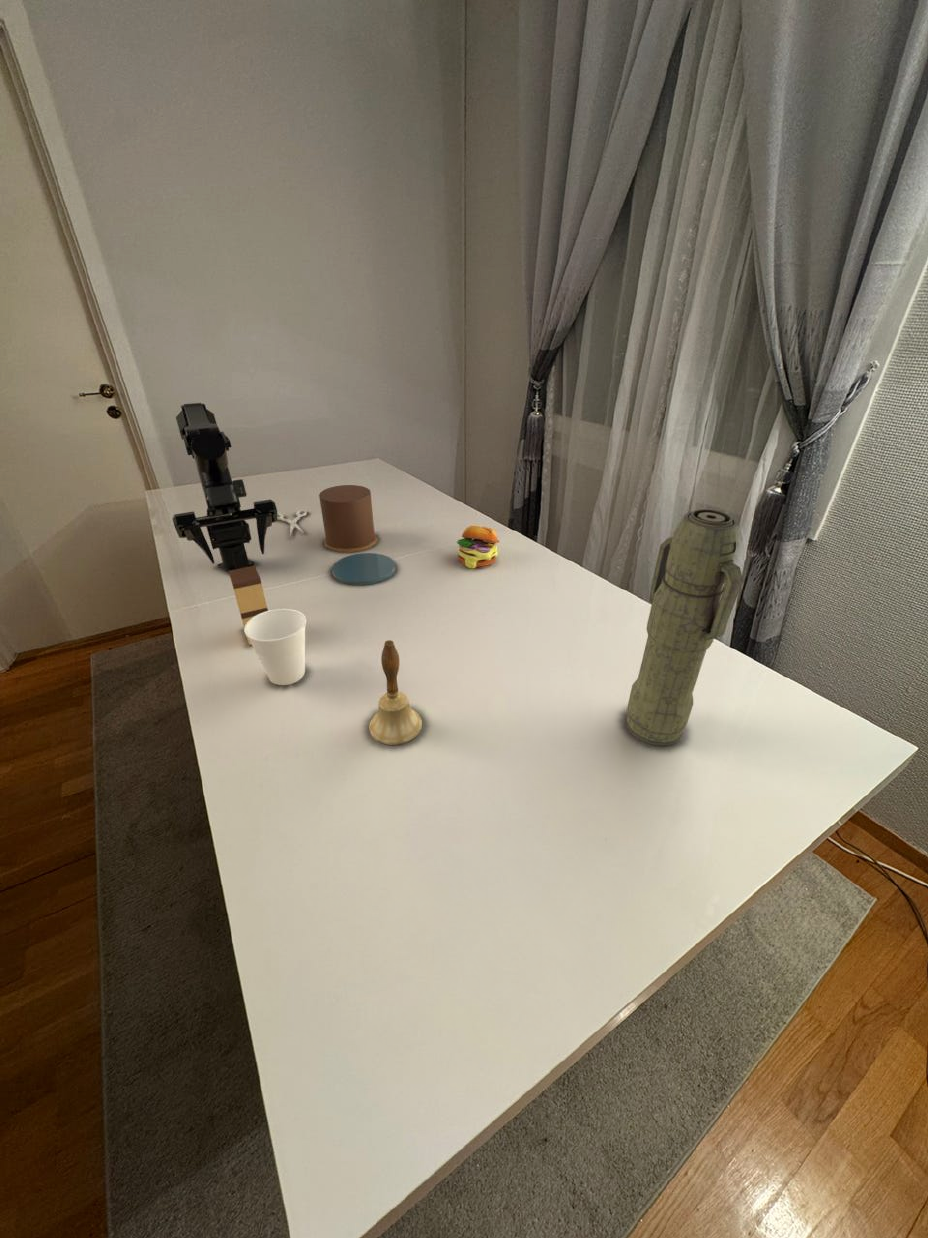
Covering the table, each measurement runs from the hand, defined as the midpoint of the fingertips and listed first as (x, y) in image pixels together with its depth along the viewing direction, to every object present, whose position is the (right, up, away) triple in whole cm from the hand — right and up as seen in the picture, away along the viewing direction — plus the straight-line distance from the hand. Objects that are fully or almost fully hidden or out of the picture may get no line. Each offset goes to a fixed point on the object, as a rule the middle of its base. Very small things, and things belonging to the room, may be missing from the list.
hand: (238, 558), depth 102 cm
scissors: (-5, +15, +48) cm, 51 cm away
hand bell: (+34, -29, -20) cm, 49 cm away
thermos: (+74, -29, -20) cm, 82 cm away
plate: (+20, 0, +24) cm, 32 cm away
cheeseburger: (+48, +3, +30) cm, 56 cm away
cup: (+13, -22, -10) cm, 27 cm away
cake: (+14, +9, +39) cm, 42 cm away
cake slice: (+4, -15, +1) cm, 16 cm away
